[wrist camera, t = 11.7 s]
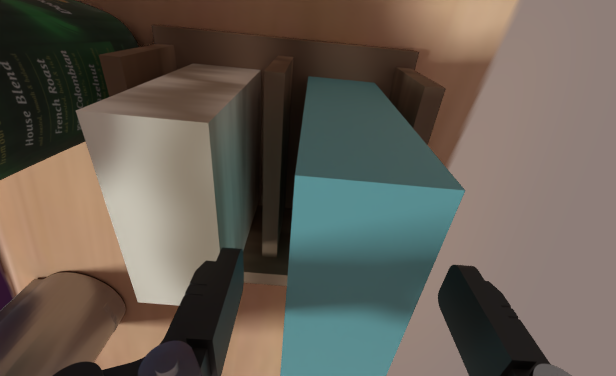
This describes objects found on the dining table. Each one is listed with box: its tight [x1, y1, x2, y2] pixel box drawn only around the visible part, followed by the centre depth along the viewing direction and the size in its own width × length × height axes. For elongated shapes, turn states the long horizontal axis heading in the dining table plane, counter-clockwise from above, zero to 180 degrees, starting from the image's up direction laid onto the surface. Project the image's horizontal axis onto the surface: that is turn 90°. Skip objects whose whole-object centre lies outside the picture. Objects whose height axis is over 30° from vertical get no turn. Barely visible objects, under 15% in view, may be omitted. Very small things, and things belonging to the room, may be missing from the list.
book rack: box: [76, 25, 445, 306], centre depth 18 cm, size 17×14×12 cm
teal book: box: [280, 76, 465, 376], centre depth 16 cm, size 4×10×14 cm, turn 175°
